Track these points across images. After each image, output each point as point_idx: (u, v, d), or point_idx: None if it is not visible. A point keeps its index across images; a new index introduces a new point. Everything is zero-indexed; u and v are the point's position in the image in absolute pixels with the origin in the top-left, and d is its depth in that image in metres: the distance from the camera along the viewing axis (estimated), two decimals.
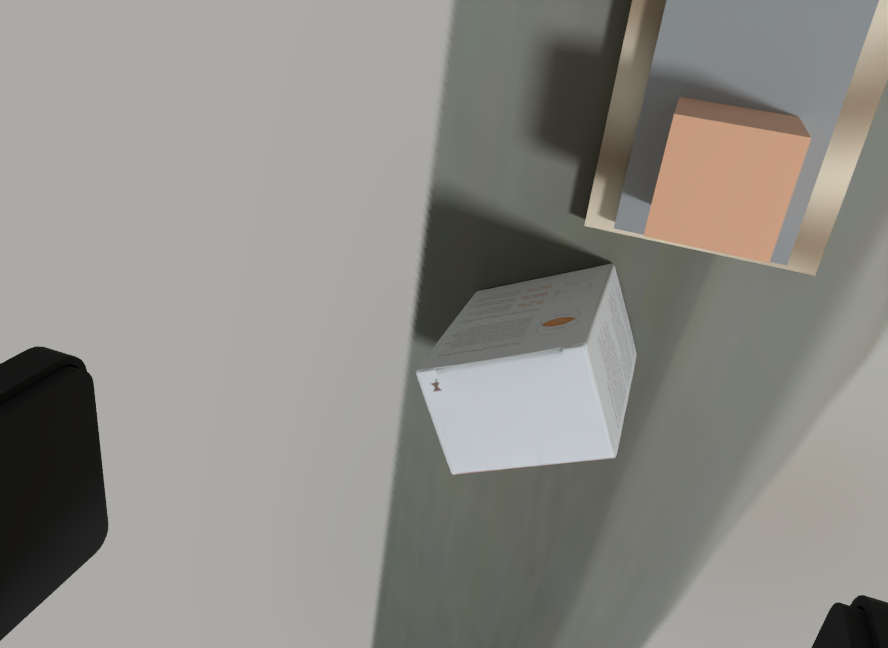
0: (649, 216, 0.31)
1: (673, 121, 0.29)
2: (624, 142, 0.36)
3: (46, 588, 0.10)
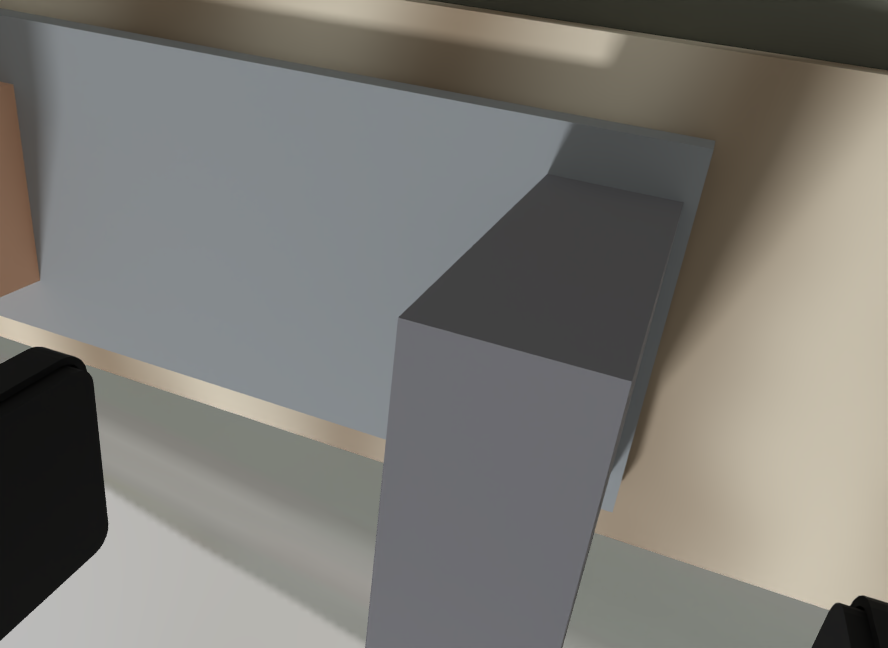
0: None
1: None
2: None
3: (46, 588, 0.10)
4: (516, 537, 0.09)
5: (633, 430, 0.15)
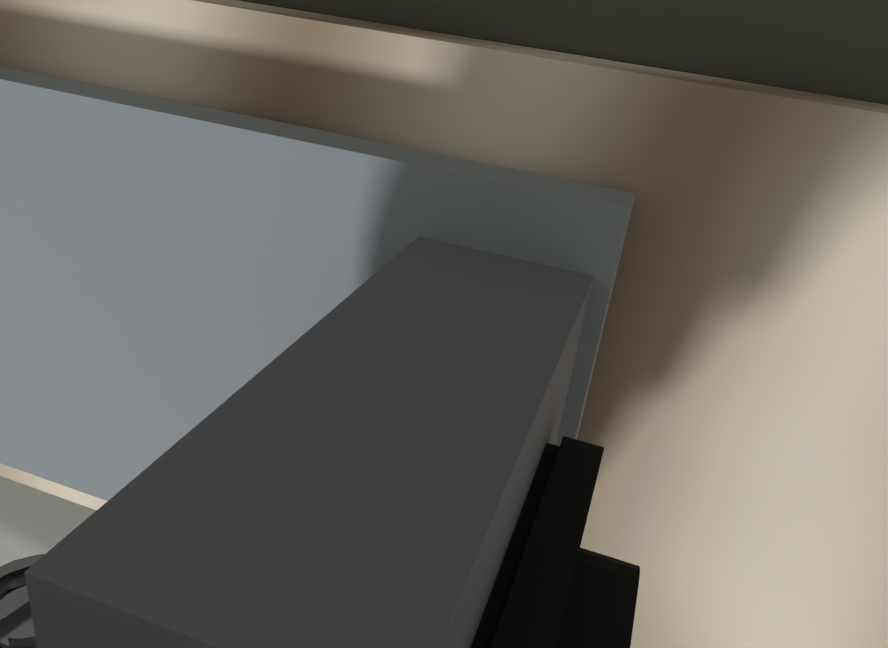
0: None
1: None
2: None
3: None
4: None
5: None
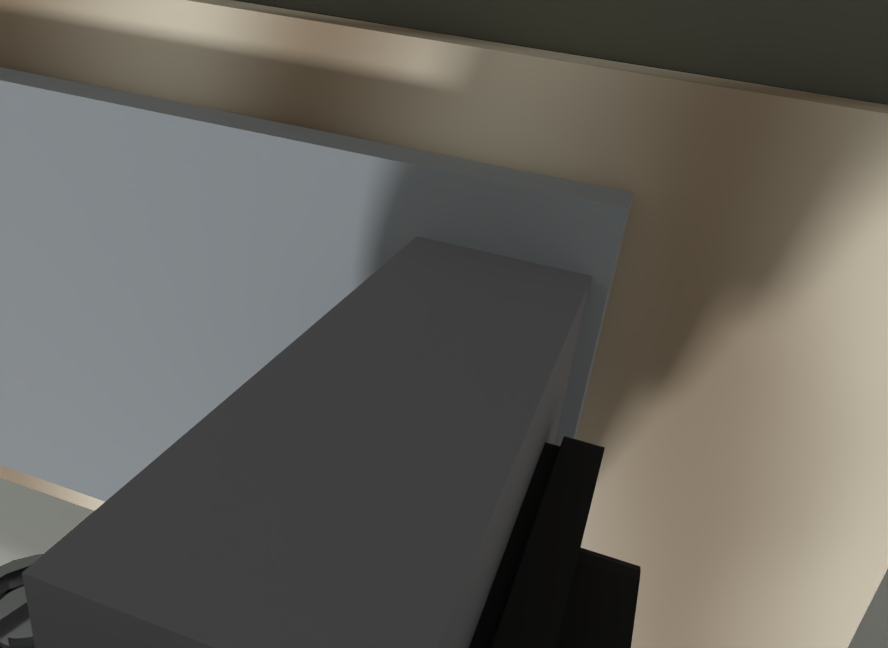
0: None
1: None
2: None
3: None
4: None
5: None
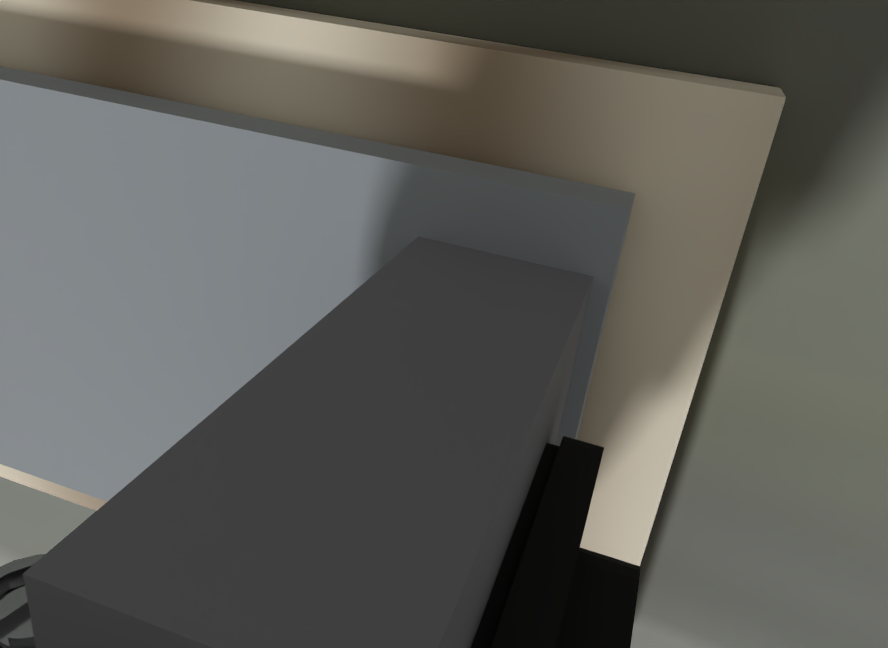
0: None
1: None
2: None
3: None
4: None
5: None
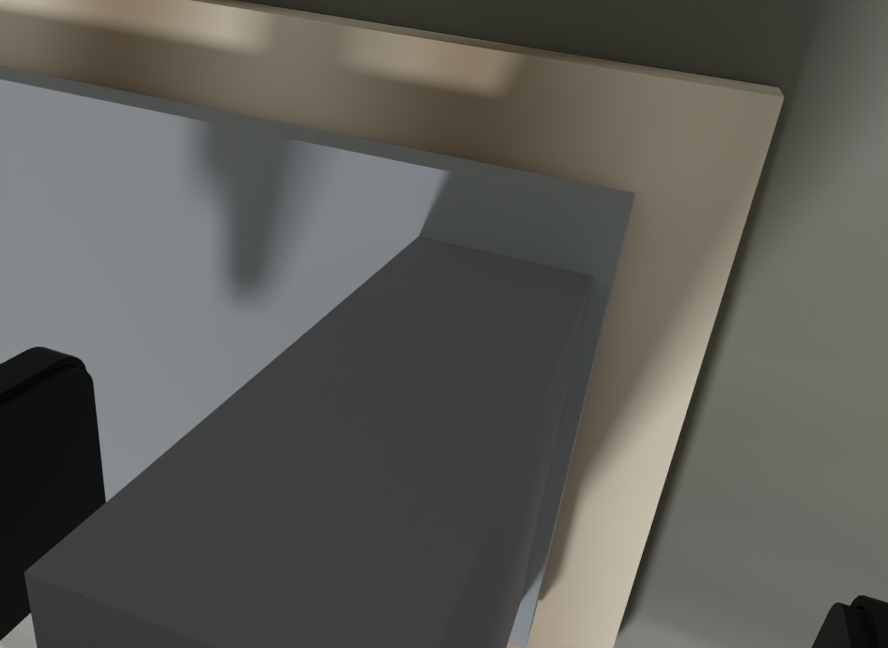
0: None
1: None
2: None
3: None
4: None
5: (545, 553, 0.12)
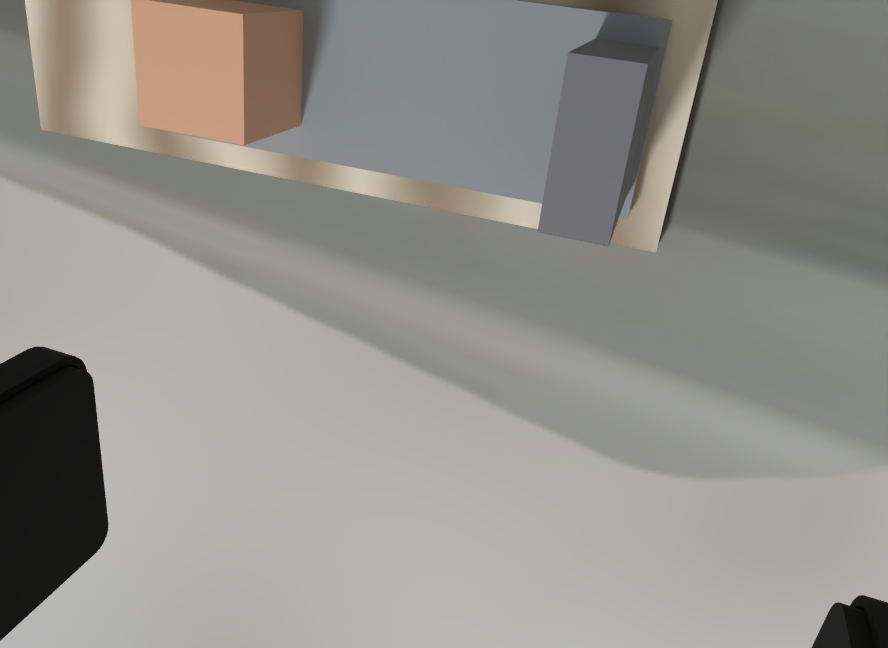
0: (149, 1, 0.30)
1: (236, 14, 0.29)
2: None
3: (46, 588, 0.10)
4: (606, 135, 0.24)
5: (637, 170, 0.31)
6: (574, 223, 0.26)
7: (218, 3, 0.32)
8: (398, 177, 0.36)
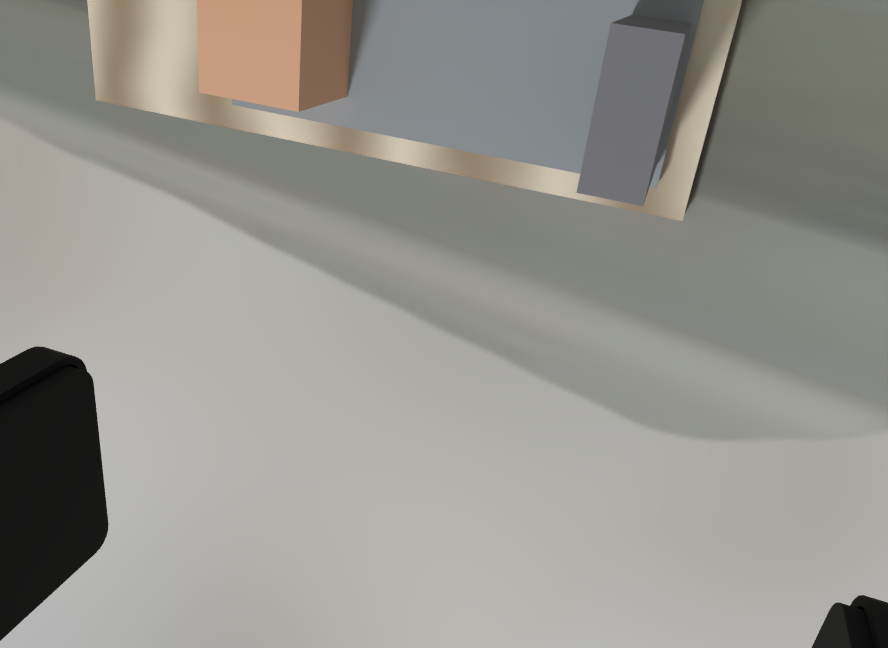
0: None
1: None
2: None
3: (46, 588, 0.10)
4: (644, 101, 0.26)
5: (667, 141, 0.33)
6: (611, 184, 0.28)
7: None
8: (438, 147, 0.38)
